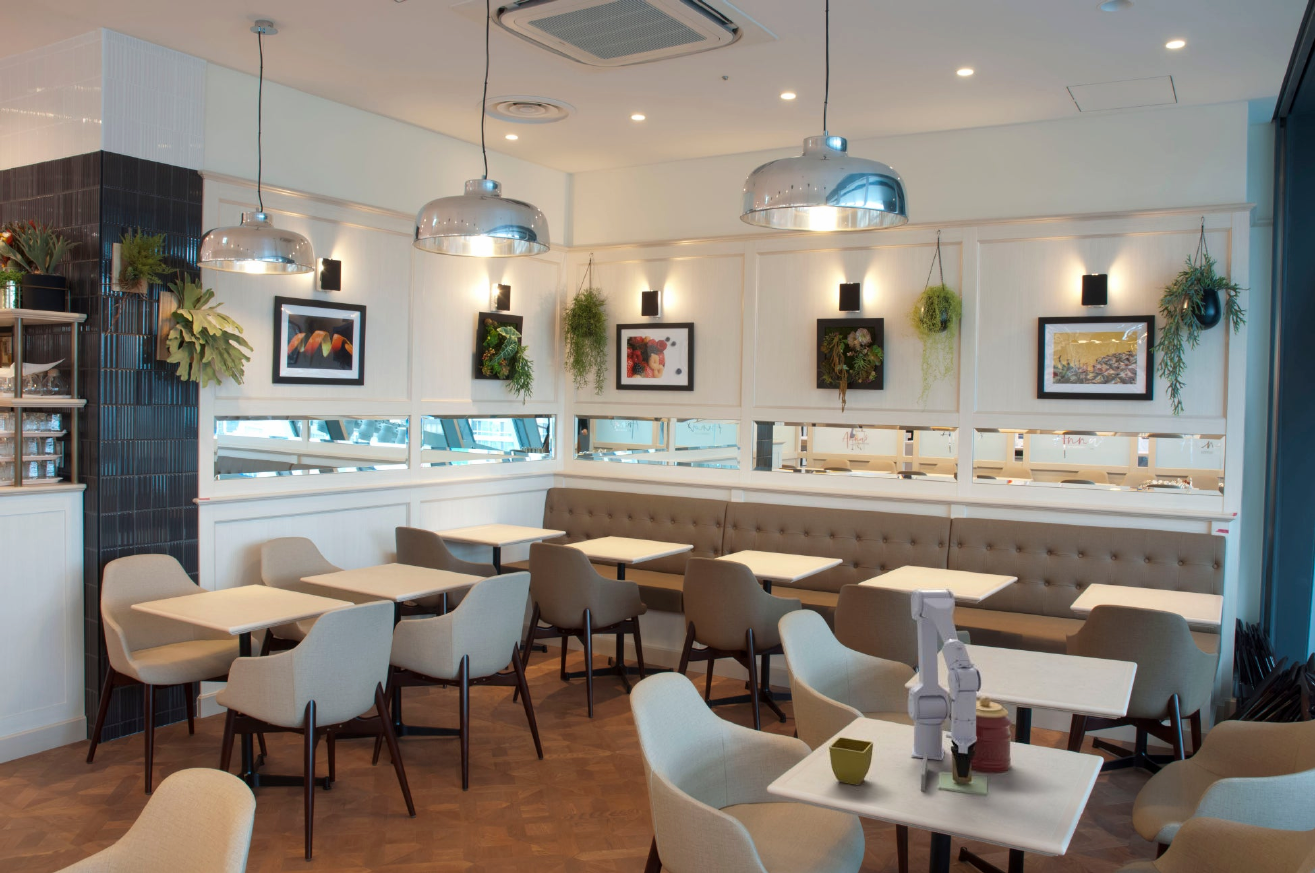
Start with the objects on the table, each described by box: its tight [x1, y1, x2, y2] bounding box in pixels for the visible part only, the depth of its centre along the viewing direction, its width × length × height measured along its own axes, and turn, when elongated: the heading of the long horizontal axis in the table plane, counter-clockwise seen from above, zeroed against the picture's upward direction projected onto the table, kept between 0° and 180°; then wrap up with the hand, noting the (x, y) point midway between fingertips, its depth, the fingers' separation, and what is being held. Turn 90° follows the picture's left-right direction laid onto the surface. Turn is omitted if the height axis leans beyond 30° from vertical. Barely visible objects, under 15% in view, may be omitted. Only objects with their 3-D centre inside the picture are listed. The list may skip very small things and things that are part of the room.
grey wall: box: [920, 753, 929, 792], centre depth 236 cm, size 16×1×4 cm, turn 162°
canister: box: [971, 695, 1012, 774], centre depth 247 cm, size 13×13×18 cm
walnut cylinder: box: [951, 753, 972, 783], centre depth 233 cm, size 4×4×6 cm
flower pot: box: [828, 736, 874, 786], centre depth 235 cm, size 9×9×9 cm
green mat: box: [937, 771, 988, 796], centre depth 234 cm, size 11×11×1 cm
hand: (962, 773), depth 233 cm, fingers closed on walnut cylinder, 4 cm apart
